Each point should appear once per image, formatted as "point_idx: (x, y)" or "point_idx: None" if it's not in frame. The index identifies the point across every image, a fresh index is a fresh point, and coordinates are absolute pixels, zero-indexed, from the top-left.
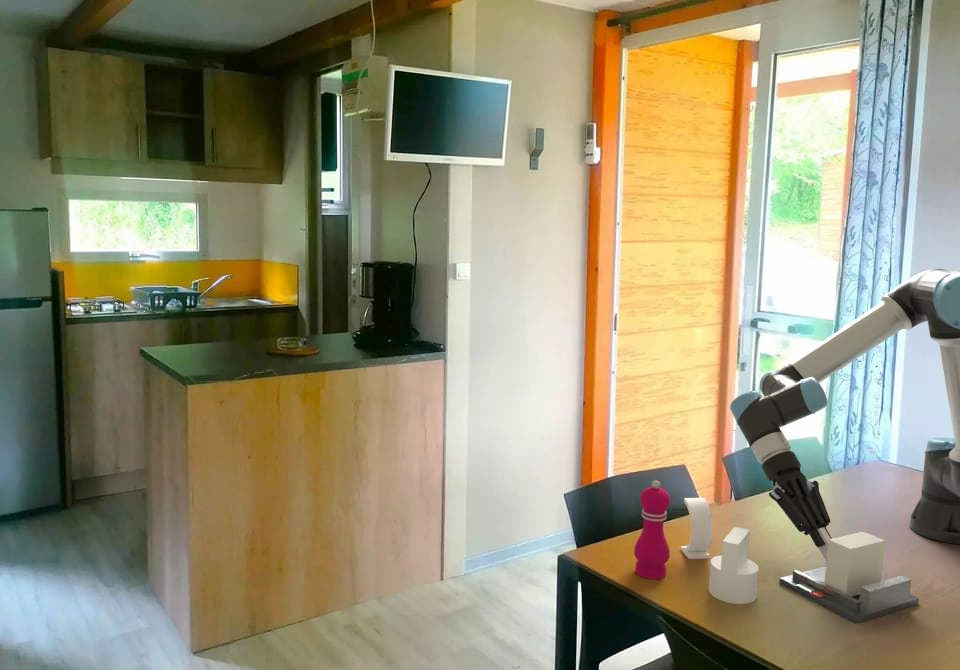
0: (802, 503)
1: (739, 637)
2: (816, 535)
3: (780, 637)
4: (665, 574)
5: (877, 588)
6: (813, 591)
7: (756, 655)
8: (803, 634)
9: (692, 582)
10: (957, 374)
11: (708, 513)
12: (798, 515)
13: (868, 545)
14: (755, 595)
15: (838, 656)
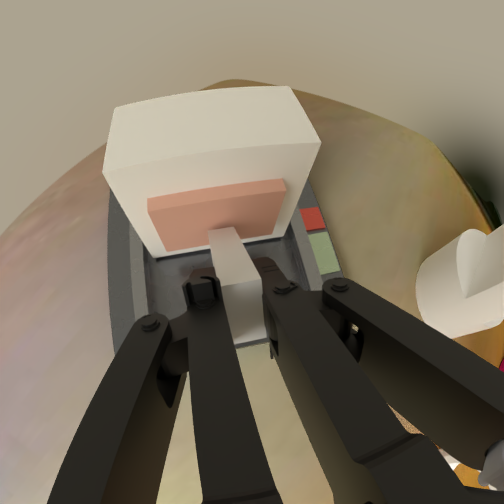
0: (357, 411)
1: (454, 182)
2: (282, 274)
3: (414, 163)
4: (501, 365)
5: None
6: (316, 234)
7: (441, 151)
8: (385, 156)
9: (481, 343)
10: None
11: None
12: (402, 313)
13: (199, 93)
14: (426, 260)
15: (361, 114)
